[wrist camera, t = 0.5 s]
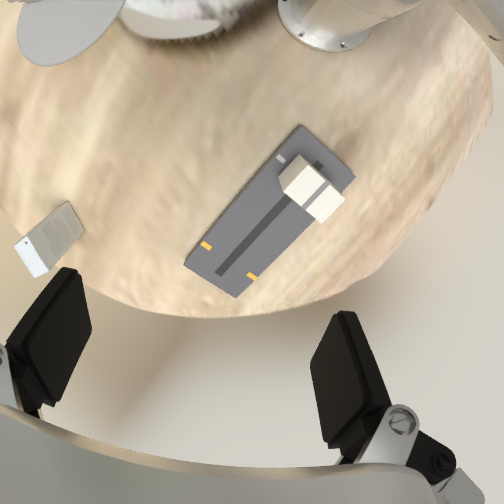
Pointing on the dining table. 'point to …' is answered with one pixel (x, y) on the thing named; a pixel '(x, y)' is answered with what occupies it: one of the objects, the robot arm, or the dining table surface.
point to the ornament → (62, 28)
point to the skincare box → (49, 240)
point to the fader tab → (310, 189)
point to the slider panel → (262, 218)
